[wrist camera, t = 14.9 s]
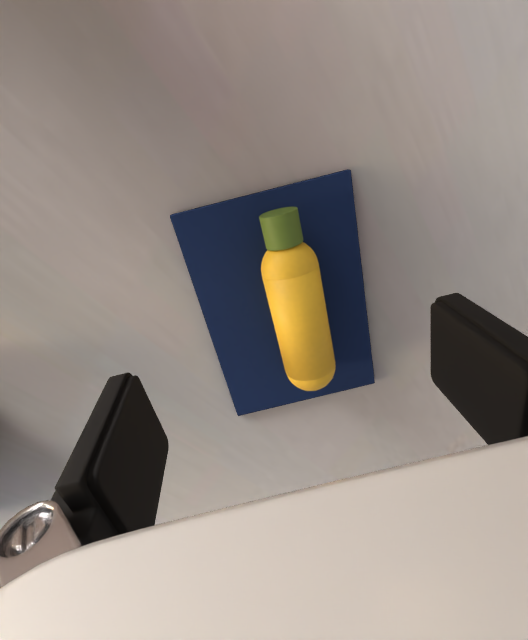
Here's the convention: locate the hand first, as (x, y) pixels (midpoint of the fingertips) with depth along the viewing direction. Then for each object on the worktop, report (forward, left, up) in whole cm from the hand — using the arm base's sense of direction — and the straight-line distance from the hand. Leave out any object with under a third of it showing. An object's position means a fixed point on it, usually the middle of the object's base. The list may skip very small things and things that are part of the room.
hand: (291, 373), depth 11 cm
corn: (+1, -6, -19) cm, 19 cm away
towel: (+1, -7, -19) cm, 20 cm away
